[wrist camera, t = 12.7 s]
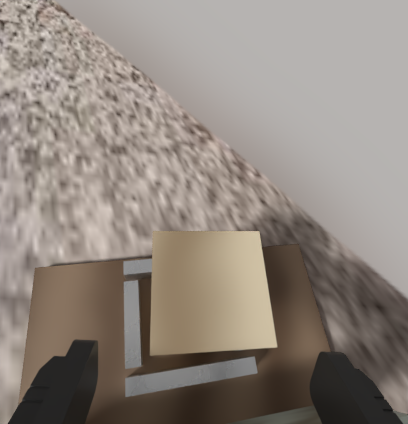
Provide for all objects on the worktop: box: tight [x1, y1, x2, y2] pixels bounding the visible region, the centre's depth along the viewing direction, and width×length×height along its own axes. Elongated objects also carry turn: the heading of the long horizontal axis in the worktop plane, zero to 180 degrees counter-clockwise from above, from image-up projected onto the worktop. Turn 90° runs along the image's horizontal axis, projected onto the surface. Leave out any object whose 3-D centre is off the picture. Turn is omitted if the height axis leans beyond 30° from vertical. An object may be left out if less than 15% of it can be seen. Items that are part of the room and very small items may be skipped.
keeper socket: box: [123, 259, 258, 397], centre depth 20 cm, size 8×8×2 cm
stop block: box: [150, 231, 277, 356], centre depth 16 cm, size 4×4×12 cm
